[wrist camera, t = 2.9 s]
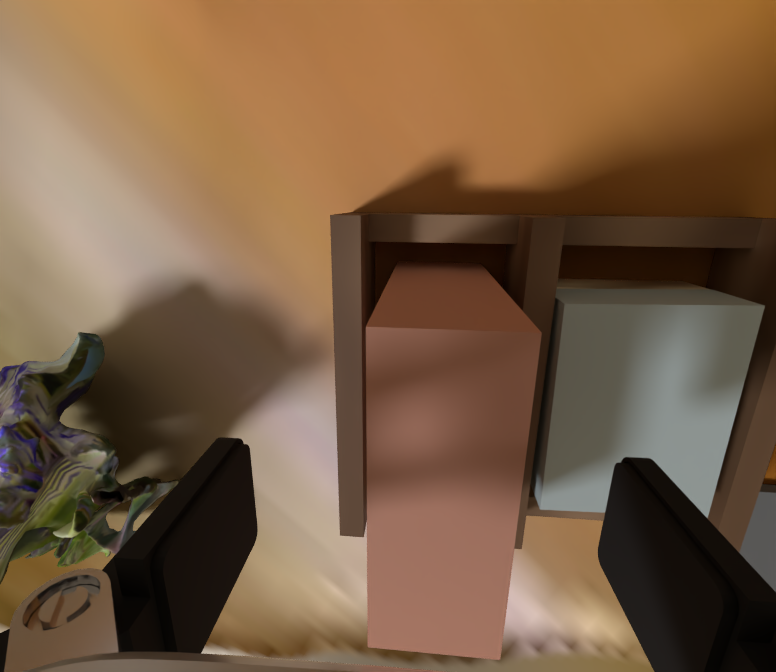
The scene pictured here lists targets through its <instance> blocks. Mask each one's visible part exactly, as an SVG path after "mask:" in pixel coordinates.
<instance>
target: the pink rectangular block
mask: <svg viewBox="0 0 776 672" xmlns="http://www.w3.org/2000/svg"><path fill="white" fill-rule="evenodd" d="M541 335H542V333H541V331H540V330H539V329H538V328H537V327H536V326H535V325H534V323H533V322H532V321H531V320H530V319H529V318H528V317H527V316H526V314H525V313H524V312H523V311H522V310H521V309H520V308H519V306H518V305H517V304H516V303H515V302H514V301H513V300H512V298H511V297H510V296H509V295H508V294H507V293H506V292H505V290H504V289H503V288H502V287H501V286H500V285H499V284H498V283H497V281H496V280H495V279H494V278H493V277H492V276H491V275H490V273H489V272H488V271H487V270H486V269H485V268H484V267H483V265H482V264H481V263H448V262H403V261H398V262H397V265H396V267H395V269H394V271H393V273H392V275H391V277H390V279H389V281H388V283H387V285H386V287H385V289H384V291H383V293H382V295H381V297H380V299H379V301H378V303H377V305H376V307H375V309H374V311H373V313H372V315H371V317H370V319H369V321H368V323H367V325H366V438H367V593H368V647H372V648H382V649H393V650H403V651H413V652H423V653H434V654H444V655H454V656H464V657H474V658H485V659H495V660H500V656H501V649H502V641H503V633H504V625H505V617H506V609H507V602H508V594H509V586H510V578H511V570H512V562H513V555H514V547H515V539H516V531H517V523H518V515H519V508H520V500H521V492H522V484H523V476H524V468H525V461H526V453H527V445H528V437H529V429H530V421H531V414H532V406H533V398H534V390H535V382H536V374H537V367H538V359H539V351H540V343H541Z"/></svg>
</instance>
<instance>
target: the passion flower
mask: <svg viewBox="0 0 776 672" xmlns="http://www.w3.org/2000/svg"><path fill="white" fill-rule="evenodd" d="M104 355H105V352H104V346H103V342H102V340H101V338H100V337H99V336H98V335H96V334H91V333H82V332H79V333H78V337H77V338H76V339H75V341H74V343H73V344H72V346H71V347H70V348H69V349H68V350H67V351H66V352H65V353H64V354H63V355H62V357H61V358H60V359H59V360H57V361H54V362H39V361H27V362H24V363H23V364H21V365H15V366H6V367H4V368H3V369H2V370H1V371H0V584H1V582H2V580H3V578H4V576H5V574H6V572H7V568H8V565H9V562H10V561H12V560H15V559H18V558H20V557H22V556H24V555H25V554H27V553H30V552H31V554H30V555H29V556H27V557H26V558H33V557H37V556H41V555H43V554H45V553H47V552H49V551H50V550H52V549H54V548H56V547H57V549H56V551H55V553H54V556H55V557H56V558H60V557H61V559H60V561H59V562H58V565H57V566H58V567H66V566H69V565H71V564H77V563H79V562H81V561H82V560H84V559H86V558H88V557H90V556H92V555H94V554H96V553H98V552H100V551H101V552H104V553H105V555H106V557H108V556H109V555H110V554H111V552H112V553H115V554H117V553H118V551H119V550H120V549H121V548H122V547H123V546H124V545H125V543H126V542H127V541H128V540H129V539H130V538H131V537H132V535H133V534H134V533H135V532H136V531H133V524H134V521H135V520H136V519H137V518H138V516H139V515H140V514H141V513H142V512H143V511H144V510H145V509H146V508H148V507H149V506H150V505H152V504H153V503H154V502H155V501H156V500H157V499H158V498H160V497H161V496H163V495H165V494H166V493H168V492H169V491H170V490H171V489H172V488H174V487H175V486H176V485H177V484H178V483H179V482H180V481H181V480H173V481H169V482H162V481H161V480H160V479H150V478H149V477H142V478H138V479H135V480H134V481H131V482H129V483H127V484H124V485H121V484H120V483H118V482H117V480H116V478H115V471H116V469H117V467H118V464H119V458H118V457H117V456H114V455H115V454H116V451H117V450H116V448H115V446H114V445H113V444H112V443H111V442H110V441H109V440H108V439H107V438H105V437H104V436H102V435H100V434H93V433H90V432H87V431H85V430H80V429H74V428H69V427H66V426H65V425H63V424H62V423H61V422H60V421H59V420H60V416H61V415H62V413H63V412H64V410H65V409H66V408H68V407H69V406H70V405H71V404H73V403H74V402H75V401H77V400H78V399H79V398H80V397H81V396H82V395H83V394H85V393H86V392H87V390H88V389H89V387H90V384H91V382H92V380H93V378H94V376H95V373H96V371H97V370H98V369H99V367H100V366H101V364H102V362H103V359H104ZM90 495H91V497H90ZM130 499H131V501H132V503H131V505H130V508H129V513H128V516H127V519H126V521H125V524H124V526H123V528H122V529H121V531H119V532H118V531H116V530H114V529H110V528H109V526H108V523H107V521H106V515H107V513H108V512H109V511H110V510H111V509H112V508H114V507H115V506H117V505H118V504H120V503H122V502H124V503H125V502H126V501H129V500H130ZM105 503H106V504H105ZM104 504H105V505H104ZM102 505H104V506H103V507H102V508H101V509H100V510H98V511H96V510H97V509H98V508H99V507H100V506H102ZM95 511H96V512H95Z"/></svg>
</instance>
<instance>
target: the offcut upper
mask: <svg viewBox="0 0 776 672" xmlns="http://www.w3.org/2000/svg"><path fill="white" fill-rule="evenodd" d="M764 308H765V306H764V305H761V304H758V303H755V302H751V301H748V300H745V299H742V298H738V297H735V296H732V295H729V294H725V293H722V292H719V291H716V290H704V289H556V296H555V304H554V311H553V319H552V326H551V334H550V341H549V348H548V356H547V363H546V371H545V378H544V386H543V393H542V401H541V408H540V416H539V423H538V430H537V438H536V445H535V453H534V460H533V468H532V475H531V483H530V484H531V487H532V489H533V492H534V495H535V497H536V500H537V503H538V505H539V508H540V510H560V511H580V512H600V513H605V511H606V506H607V501H608V495H609V490H610V485H611V480H612V475H613V470H614V466H615V464H616V463H621V461H622V459H623V458H625V457H638V458H650V459H652V460H653V461H655V463H656V464H657V465H658V466H659V467H660V468H661V469H662V470H663V471H664V472H665V473H666V474H667V475H668V477H669V478H670V479H671V480H672V481H673V482H674V483H675V484H676V485H677V486H678V487H679V488H680V489H681V491H682V492H683V493H684V494H685V495H686V496H687V497H688V498H689V499H690V500H691V501H692V502H693V503H694V505H695V506H696V507H697V508H698V509H699V510H700V511H701V512H702V513H703V514H704V515H705V516H706V517H707V518H708V515H709V511H710V508H711V504H712V500H713V496H714V493H715V489H716V485H717V482H718V478H719V474H720V471H721V467H722V463H723V459H724V456H725V452H726V448H727V445H728V441H729V437H730V434H731V430H732V426H733V422H734V419H735V415H736V411H737V408H738V404H739V400H740V397H741V393H742V389H743V385H744V382H745V378H746V374H747V371H748V367H749V363H750V359H751V356H752V352H753V348H754V345H755V341H756V337H757V334H758V330H759V326H760V322H761V319H762V315H763V311H764Z"/></svg>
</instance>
